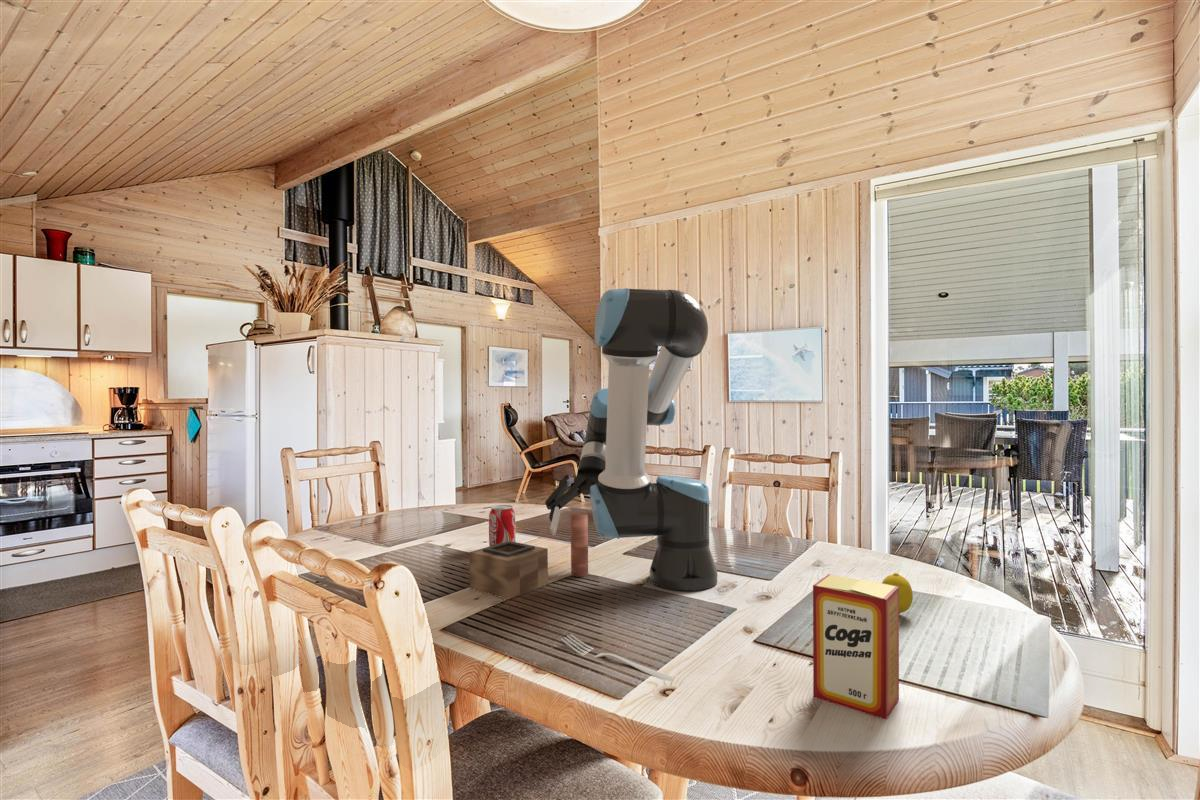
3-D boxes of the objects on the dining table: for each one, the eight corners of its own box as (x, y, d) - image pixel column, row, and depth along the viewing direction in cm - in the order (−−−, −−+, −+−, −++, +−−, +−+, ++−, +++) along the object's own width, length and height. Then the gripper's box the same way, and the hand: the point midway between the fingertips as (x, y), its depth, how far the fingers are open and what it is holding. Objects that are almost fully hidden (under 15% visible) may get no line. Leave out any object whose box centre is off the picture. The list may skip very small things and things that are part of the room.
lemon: (910, 611, 116) (910, 570, 116) (914, 622, 111) (914, 578, 111) (878, 608, 118) (878, 567, 118) (881, 618, 113) (881, 576, 113)
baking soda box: (813, 696, 84) (813, 582, 84) (829, 679, 89) (828, 571, 89) (886, 719, 78) (886, 596, 78) (898, 699, 83) (898, 584, 83)
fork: (685, 692, 87) (685, 680, 87) (558, 649, 101) (558, 638, 101) (696, 684, 89) (696, 672, 89) (571, 643, 104) (571, 632, 104)
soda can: (513, 554, 159) (512, 509, 159) (486, 554, 160) (486, 509, 159) (517, 547, 166) (517, 504, 166) (491, 547, 167) (491, 504, 166)
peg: (591, 573, 142) (591, 514, 142) (580, 578, 139) (580, 517, 139) (578, 570, 145) (578, 512, 144) (567, 574, 141) (567, 515, 141)
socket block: (547, 584, 134) (547, 545, 134) (508, 599, 125) (508, 558, 125) (509, 574, 142) (509, 538, 142) (470, 588, 132) (469, 549, 132)
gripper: (642, 473, 158) (633, 544, 144) (551, 471, 164) (533, 539, 150) (639, 455, 153) (629, 527, 139) (545, 453, 159) (526, 522, 144)
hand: (579, 533), depth 144 cm, fingers open, 13 cm apart
